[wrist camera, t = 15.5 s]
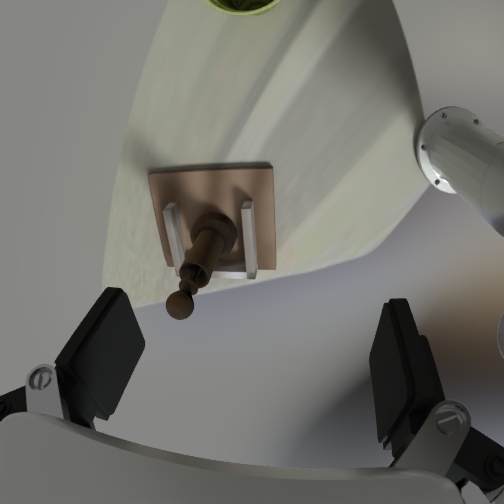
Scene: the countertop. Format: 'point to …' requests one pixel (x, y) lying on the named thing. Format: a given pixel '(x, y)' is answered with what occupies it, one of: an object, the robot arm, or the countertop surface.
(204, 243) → the wooden chess pawn
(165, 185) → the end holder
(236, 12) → the plant pot
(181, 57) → the countertop surface
